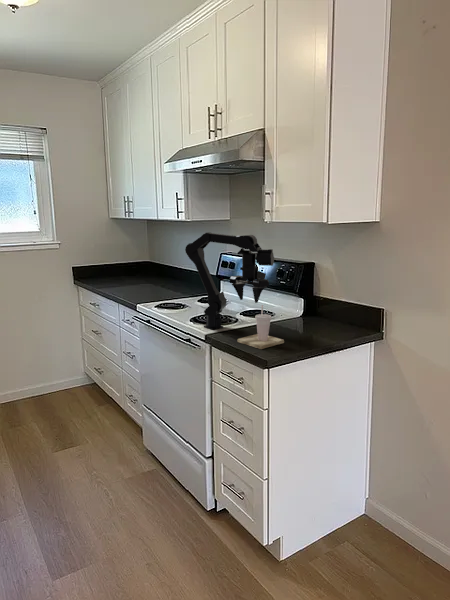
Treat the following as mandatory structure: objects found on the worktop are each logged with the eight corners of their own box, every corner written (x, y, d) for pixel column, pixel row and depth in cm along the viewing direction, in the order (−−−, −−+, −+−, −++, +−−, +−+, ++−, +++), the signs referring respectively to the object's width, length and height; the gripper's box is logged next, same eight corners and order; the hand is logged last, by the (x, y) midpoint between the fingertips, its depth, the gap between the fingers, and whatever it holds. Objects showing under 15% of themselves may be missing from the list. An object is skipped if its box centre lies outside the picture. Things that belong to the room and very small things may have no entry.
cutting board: (237, 341, 181) (237, 338, 180) (260, 336, 189) (260, 333, 189) (261, 349, 171) (261, 346, 171) (283, 342, 180) (283, 339, 179)
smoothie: (254, 337, 183) (254, 303, 180) (269, 337, 183) (270, 303, 180) (255, 342, 176) (256, 306, 174) (272, 342, 176) (272, 306, 174)
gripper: (278, 265, 190) (277, 301, 193) (247, 261, 204) (247, 296, 207) (259, 267, 183) (259, 305, 186) (228, 263, 197) (229, 299, 200)
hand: (248, 301), depth 195 cm, fingers open, 9 cm apart
